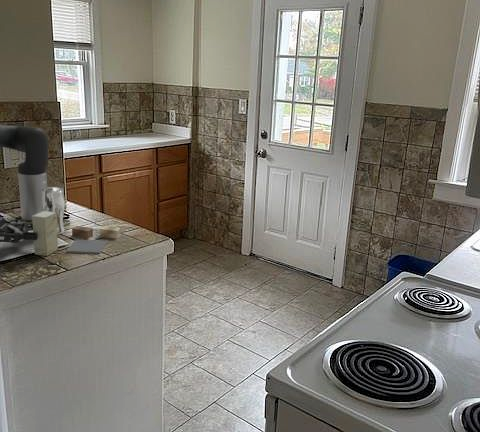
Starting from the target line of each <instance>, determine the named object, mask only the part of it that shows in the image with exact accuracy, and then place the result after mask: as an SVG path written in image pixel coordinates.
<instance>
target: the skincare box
mask: <svg viewBox="0 0 480 432" xmlns="http://www.w3.org/2000/svg"><path fill="white" fill-rule="evenodd" d="M32 222H33V230H32V232H36V233H37V236H38V239H37V240H33V247H34V255H37V256H46V257H47V256H49V255H52V253H55V252H56V251H58V250H59V241H58V238H59V237H58V234H57V221H56V212H49V211H42V212H40V213H38V214H36V215H33V216H32Z"/></svg>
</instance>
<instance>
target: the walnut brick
mask: <svg viewBox="0 0 480 432" xmlns="http://www.w3.org/2000/svg"><path fill="white" fill-rule="evenodd" d="M71 235H72V237H74V238H82V239H85V240H90V239H91V238H93V237H94V228H93V227H86V226H81V225H80V226H79V225H76V226H73V227H72V228H71Z"/></svg>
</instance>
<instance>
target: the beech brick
mask: <svg viewBox="0 0 480 432" xmlns="http://www.w3.org/2000/svg"><path fill="white" fill-rule="evenodd" d="M121 236H122V235H121V228H120V227H113V226H104V225H103V226H102V227H101V228H99V237H100V238H107V239H108V238H109V239H119V238H120V237H121Z"/></svg>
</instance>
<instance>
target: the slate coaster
mask: <svg viewBox="0 0 480 432" xmlns="http://www.w3.org/2000/svg"><path fill="white" fill-rule="evenodd" d="M106 244H107V240H97V239H96V240H95V239H77V238H76V239H74V241H73V242H72V243H71V244H70V246H69V247H68V249H66V253H69V254H93V255H94V254H96V255H100V254H101V253H102V251H103V250H104V248H105V247H106Z"/></svg>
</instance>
